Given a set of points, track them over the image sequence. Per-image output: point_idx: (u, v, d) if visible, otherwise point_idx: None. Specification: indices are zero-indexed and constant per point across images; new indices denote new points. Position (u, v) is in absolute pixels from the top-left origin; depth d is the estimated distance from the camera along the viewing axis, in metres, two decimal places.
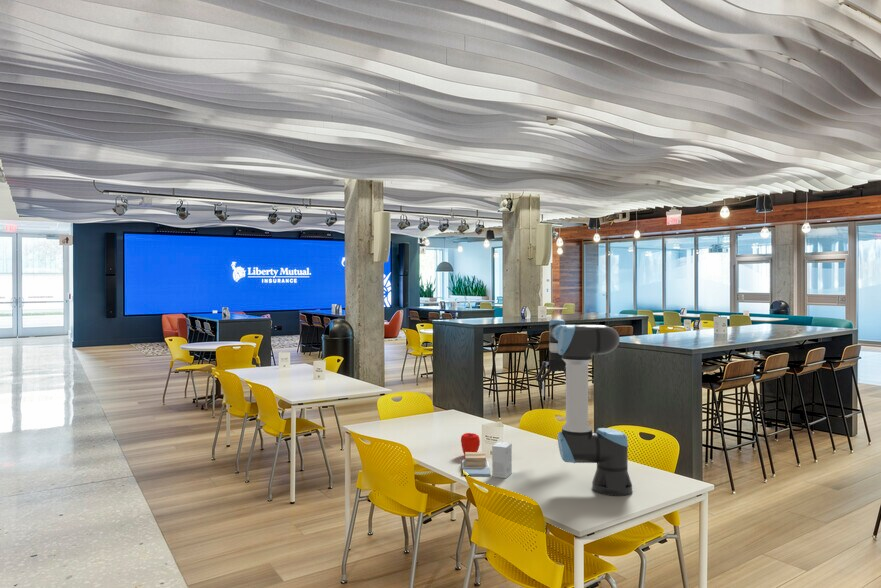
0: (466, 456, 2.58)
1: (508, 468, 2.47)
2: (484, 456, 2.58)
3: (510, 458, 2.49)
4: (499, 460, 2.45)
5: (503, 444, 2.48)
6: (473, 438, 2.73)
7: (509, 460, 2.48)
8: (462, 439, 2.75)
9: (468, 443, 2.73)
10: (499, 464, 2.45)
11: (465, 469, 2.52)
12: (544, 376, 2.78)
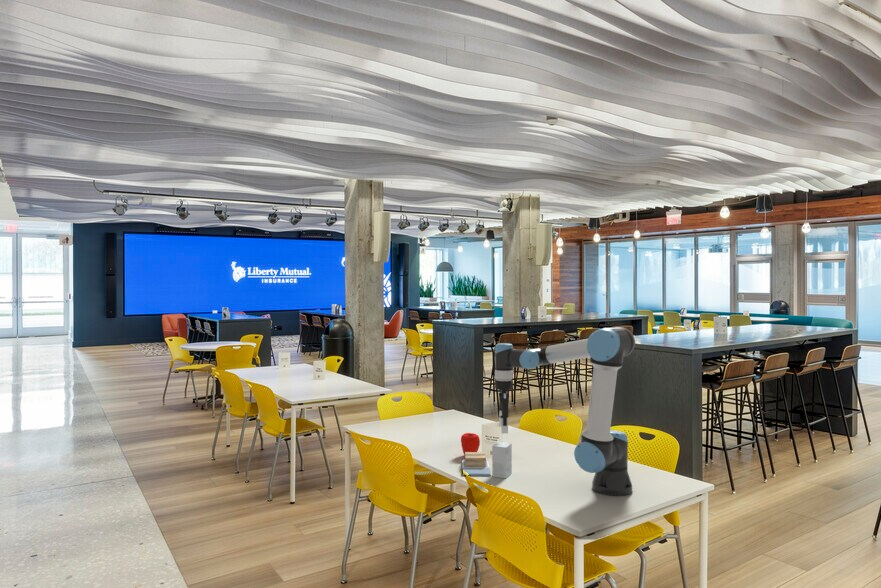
0: (466, 456, 2.58)
1: (508, 468, 2.47)
2: (484, 456, 2.58)
3: (510, 458, 2.49)
4: (499, 460, 2.45)
5: (503, 444, 2.48)
6: (473, 438, 2.73)
7: (509, 460, 2.48)
8: (462, 439, 2.75)
9: (468, 443, 2.73)
10: (499, 464, 2.45)
11: (465, 469, 2.52)
12: (499, 404, 2.56)
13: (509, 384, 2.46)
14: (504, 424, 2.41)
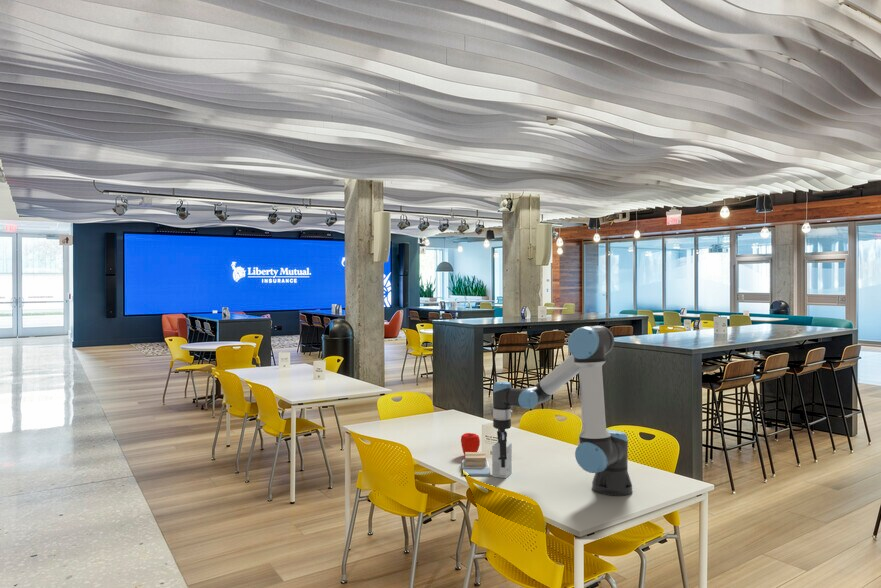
0: (466, 456, 2.58)
1: (508, 467, 2.47)
2: (484, 456, 2.58)
3: (510, 458, 2.49)
4: None
5: None
6: (473, 438, 2.73)
7: (509, 460, 2.48)
8: (462, 439, 2.75)
9: (468, 443, 2.73)
10: (499, 464, 2.45)
11: (465, 469, 2.52)
12: None
13: (507, 423, 2.45)
14: (502, 466, 2.42)
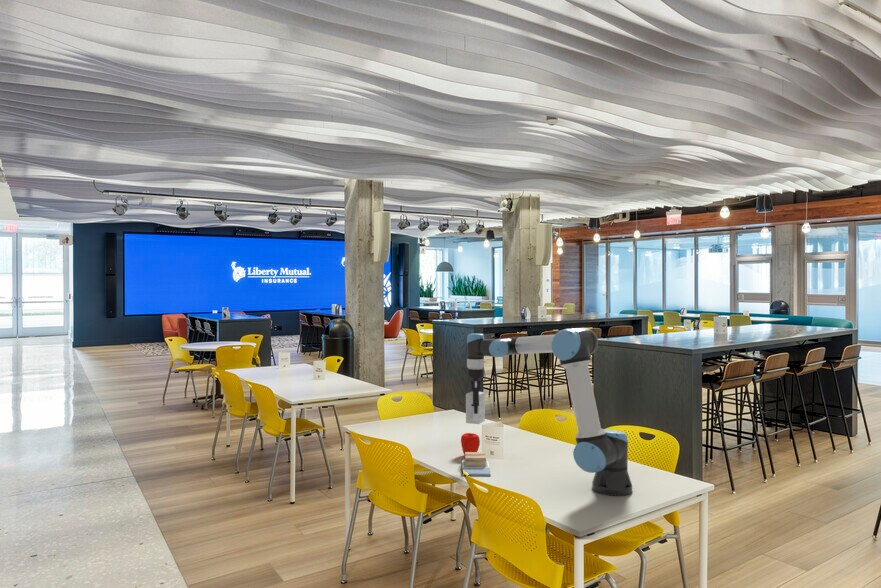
0: (466, 456, 2.58)
1: (481, 415, 2.59)
2: (484, 456, 2.58)
3: (483, 406, 2.61)
4: (472, 407, 2.57)
5: None
6: (473, 438, 2.73)
7: (482, 407, 2.60)
8: (462, 439, 2.75)
9: (468, 443, 2.73)
10: (472, 411, 2.57)
11: (465, 469, 2.52)
12: None
13: (480, 372, 2.57)
14: (475, 412, 2.54)
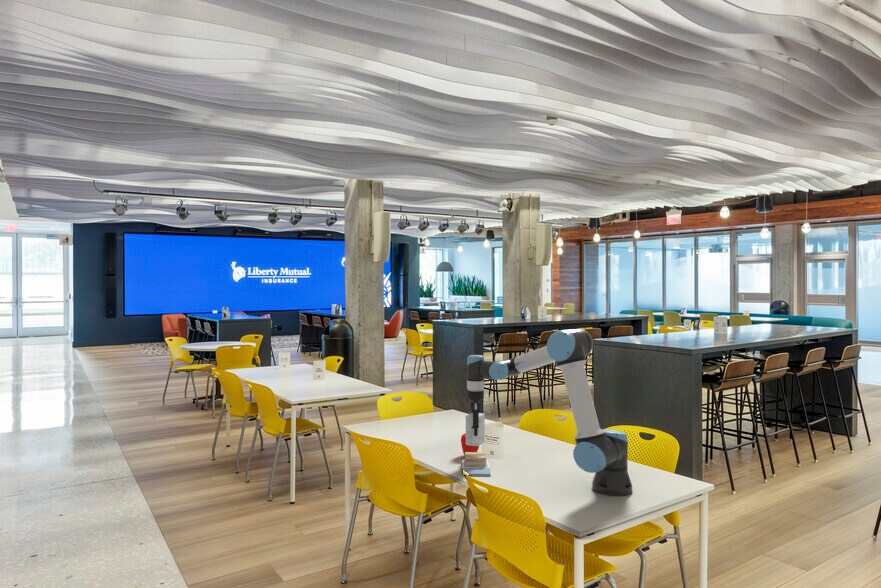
0: (466, 456, 2.58)
1: (481, 436, 2.59)
2: (484, 456, 2.58)
3: (483, 428, 2.61)
4: (472, 428, 2.57)
5: None
6: None
7: (482, 429, 2.60)
8: (462, 439, 2.75)
9: None
10: (472, 433, 2.57)
11: (465, 469, 2.52)
12: None
13: (480, 394, 2.57)
14: (475, 434, 2.54)
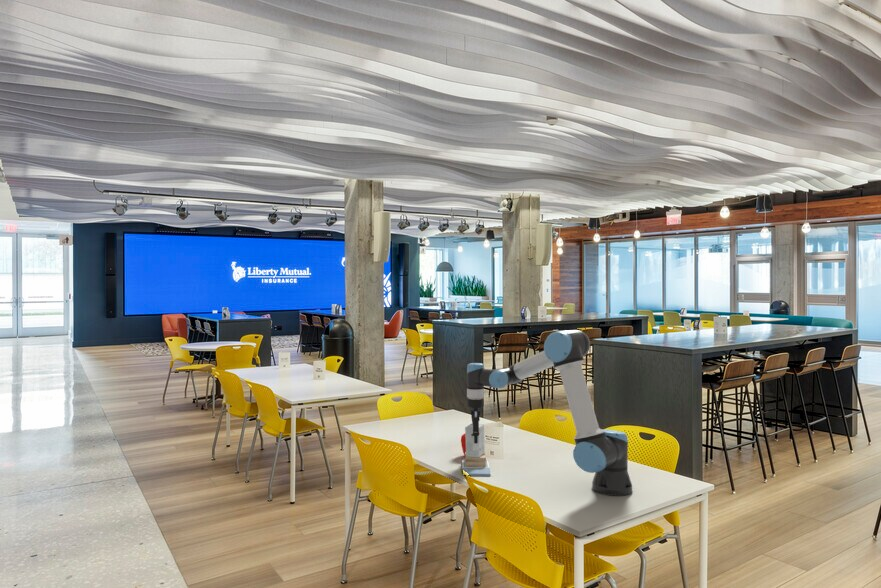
0: None
1: (481, 447, 2.59)
2: (484, 456, 2.58)
3: (483, 439, 2.61)
4: (472, 440, 2.57)
5: None
6: None
7: (482, 440, 2.60)
8: (462, 439, 2.75)
9: None
10: (472, 444, 2.57)
11: (465, 469, 2.52)
12: (472, 422, 2.66)
13: (480, 402, 2.57)
14: (475, 442, 2.53)
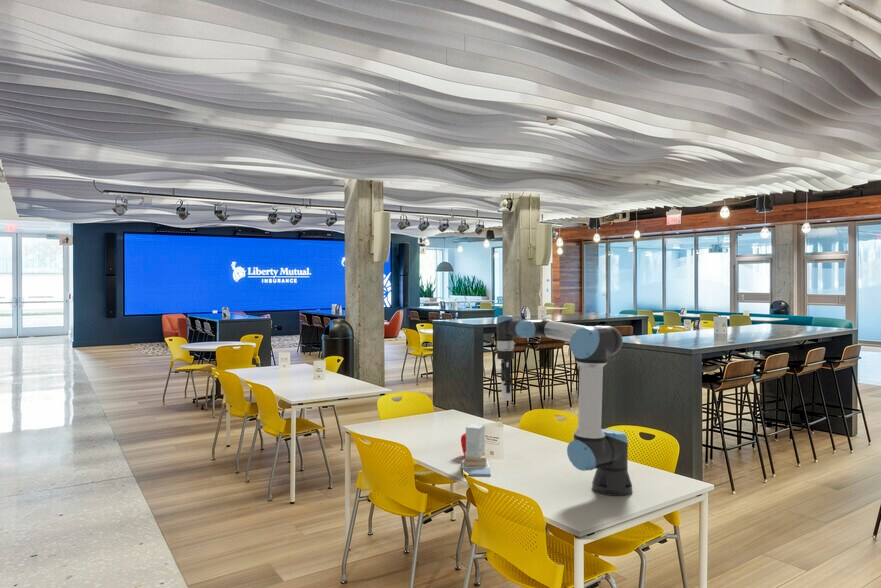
0: None
1: (481, 448, 2.59)
2: (484, 456, 2.58)
3: (483, 439, 2.61)
4: (472, 440, 2.57)
5: (476, 425, 2.60)
6: None
7: (482, 440, 2.60)
8: (462, 439, 2.75)
9: None
10: (472, 444, 2.57)
11: (465, 469, 2.52)
12: (501, 374, 2.67)
13: (511, 354, 2.57)
14: (507, 391, 2.52)
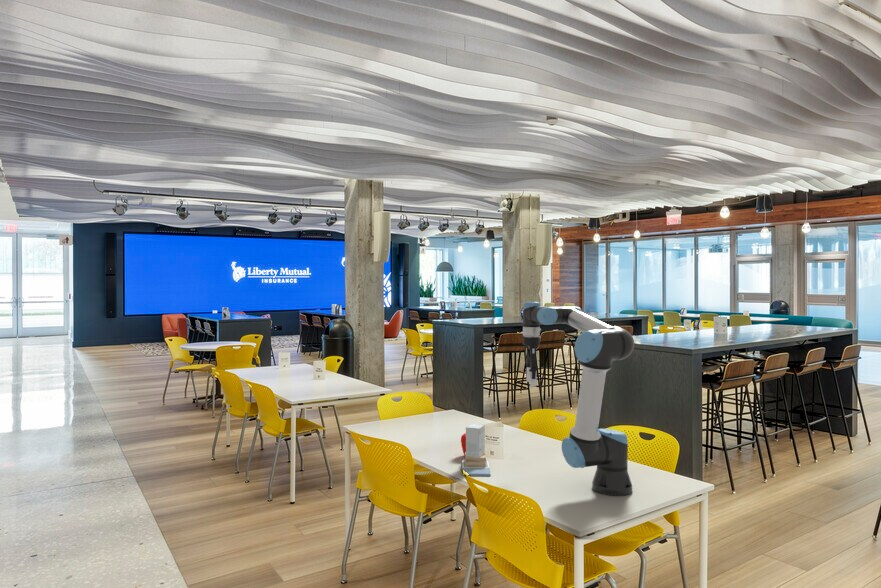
0: None
1: (481, 448, 2.59)
2: (484, 456, 2.58)
3: (483, 439, 2.61)
4: (472, 440, 2.57)
5: (476, 425, 2.60)
6: None
7: (482, 440, 2.60)
8: (462, 439, 2.75)
9: None
10: (472, 444, 2.57)
11: (465, 469, 2.52)
12: (527, 361, 2.67)
13: (537, 340, 2.58)
14: (533, 377, 2.52)
